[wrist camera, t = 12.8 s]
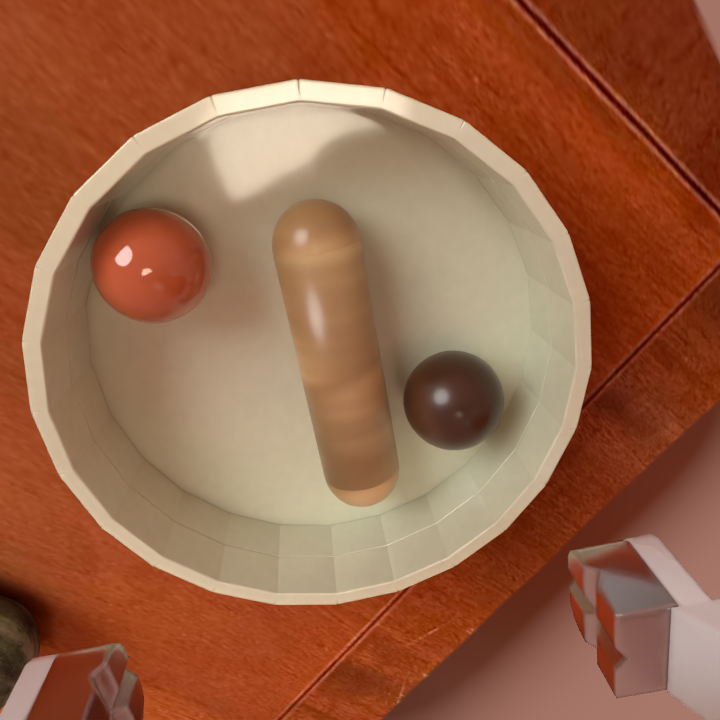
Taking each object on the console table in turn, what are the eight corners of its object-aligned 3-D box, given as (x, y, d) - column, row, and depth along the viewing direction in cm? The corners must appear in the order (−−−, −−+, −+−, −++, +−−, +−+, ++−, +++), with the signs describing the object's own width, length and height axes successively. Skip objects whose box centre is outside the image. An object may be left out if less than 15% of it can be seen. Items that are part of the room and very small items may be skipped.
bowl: (341, -37, 20) (354, -85, 15) (617, 354, 27) (684, 402, 22) (-28, 323, 23) (-109, 372, 19) (300, 591, 30) (301, 677, 25)
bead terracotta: (200, 178, 20) (79, 190, 18) (245, 282, 20) (128, 309, 18) (171, 233, 24) (65, 251, 21) (209, 324, 23) (106, 352, 21)
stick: (243, 213, 20) (317, 207, 19) (299, 194, 23) (369, 187, 21) (316, 513, 25) (380, 531, 23) (356, 471, 28) (417, 485, 26)
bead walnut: (417, 376, 27) (496, 339, 25) (448, 460, 26) (532, 428, 24) (372, 370, 24) (459, 328, 22) (404, 467, 22) (499, 431, 21)
